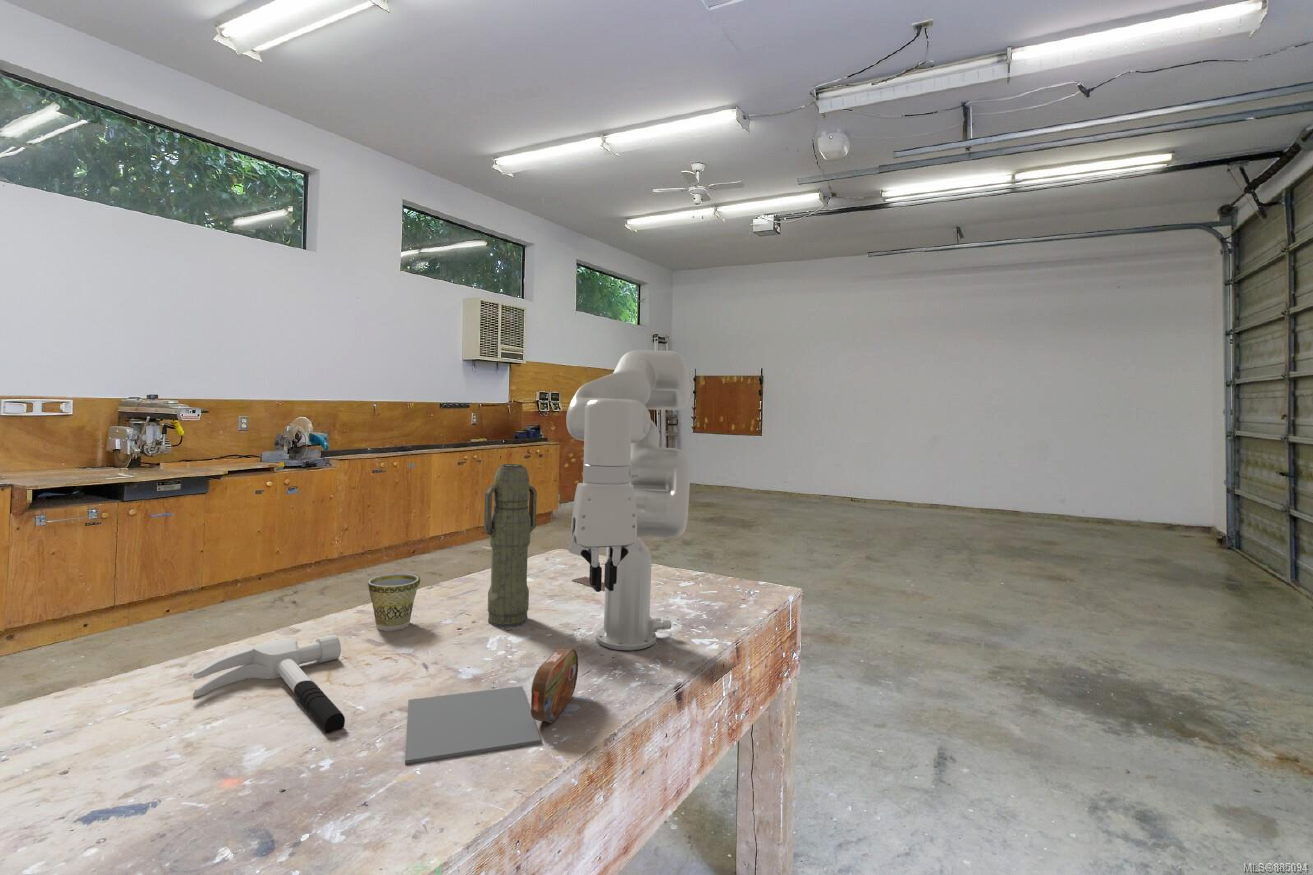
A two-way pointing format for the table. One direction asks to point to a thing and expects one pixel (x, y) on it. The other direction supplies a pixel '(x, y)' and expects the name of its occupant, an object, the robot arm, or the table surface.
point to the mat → (468, 724)
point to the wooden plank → (587, 582)
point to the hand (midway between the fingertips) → (602, 588)
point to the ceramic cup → (393, 599)
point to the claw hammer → (281, 673)
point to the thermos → (509, 544)
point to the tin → (554, 685)
